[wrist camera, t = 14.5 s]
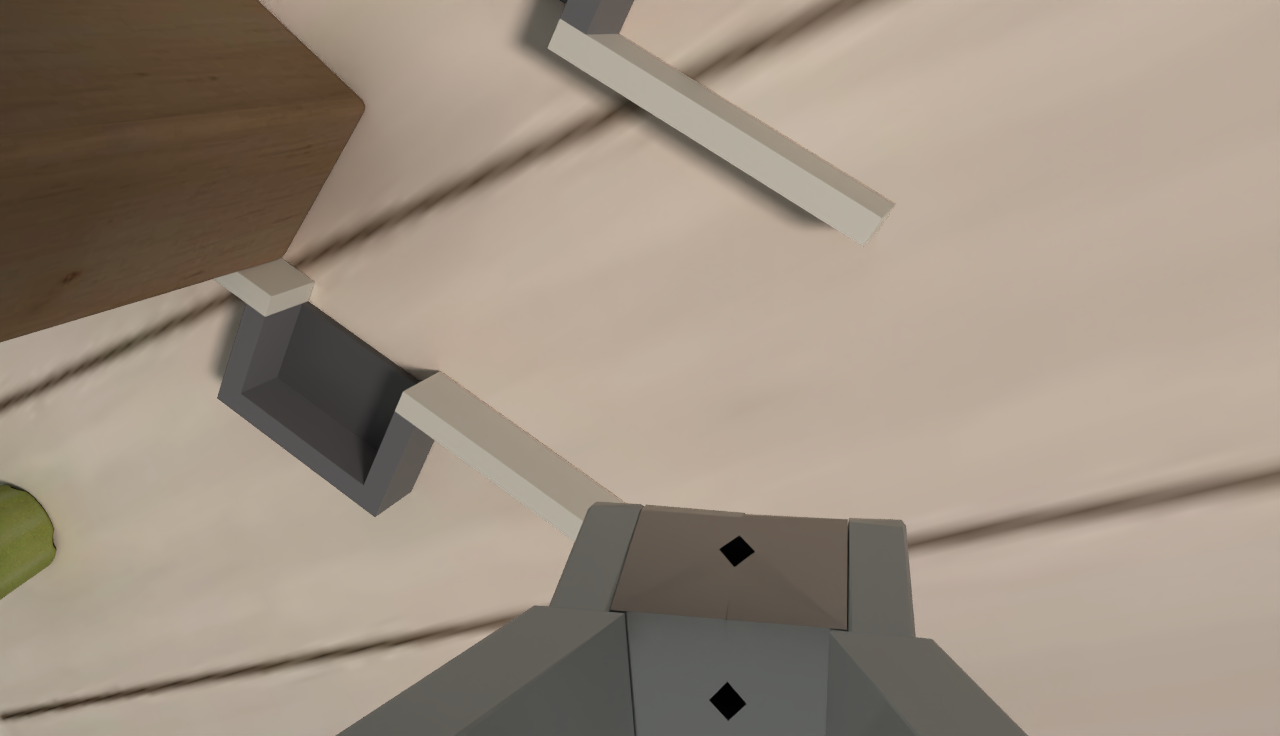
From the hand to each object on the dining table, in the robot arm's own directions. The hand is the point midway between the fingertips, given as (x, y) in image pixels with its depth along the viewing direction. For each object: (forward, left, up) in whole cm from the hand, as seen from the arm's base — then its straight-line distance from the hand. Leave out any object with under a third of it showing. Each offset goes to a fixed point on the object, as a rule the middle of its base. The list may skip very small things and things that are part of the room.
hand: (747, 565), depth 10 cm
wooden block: (-18, -28, -30) cm, 45 cm away
